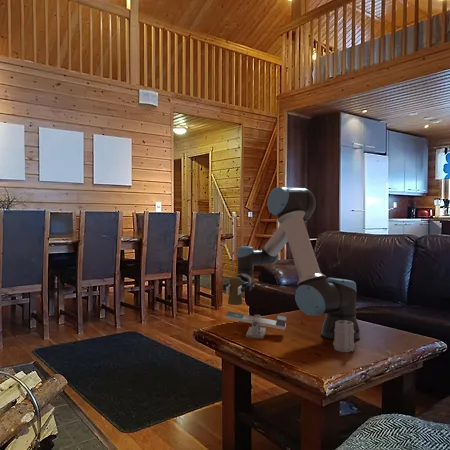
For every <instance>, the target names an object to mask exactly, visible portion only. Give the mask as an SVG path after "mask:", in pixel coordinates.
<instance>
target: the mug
mask: <svg viewBox="0 0 450 450" xmlns="http://www.w3.org/2000/svg"><path fill="white" fill-rule="evenodd" d="M334 332H335V338H334V339H333V343H332V345H333V349H334V350H335V351H337V352H341V353H351V352H350V351H352V352H354V351H353V350H355V347H356V344H355V342H354V341H355V340H354V329H353V323H352V322H351V321H346V320H345V321H344V320H338V321H336V322H335V329H334Z"/></svg>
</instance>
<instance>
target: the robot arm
mask: <svg viewBox="0 0 450 450" xmlns="http://www.w3.org/2000/svg"><path fill="white" fill-rule="evenodd" d="M266 202H267V209H268V213H271V214H272V215H273V216H276V219H277V222H278V223H279V224H280V225H279V226H278V228H277V229H276V230H275V231H274V232H273V234H272V235H271V237H270V238H269V239H268V240H267V242H266V243H265V245H264V246H263V247H262V249H254V247H253V246H249V245H248V246H247V245H240V246H238V247H237V252H236V253H237V254H236V256H237V257H236V258H237V274H236V275H235V277H240V278H241V280H242V282H241V285H240V286H239V287H238V295H240V294H241V295H242V293H245V292H247V293H249V292H251V291H252V289H255V282H254V280H255V275H254V266H270V265H273V264H274V265H275V264H276V263H277V262H278V261H279V260H278V259H279V253H280V252H281V251H282V250H283V248H284V247H285V246H286V244H287V243H288V246H289V249H290V251H291V255H292V256H291V257H292V259H293V262H294V264H295V265H294V266H295V269H296V272H297V275H298V278H299V279H298V282H297V283H296V285H297V289H296V290H295V295H294V298H295V300H294V301H295V302H296V306H297V307H298V308H299V310H300V311H301V312H302V313H304V314H305V315H307V316H319V315H323V314H325V318H324V321H323V324H322V325H321V336H322V337H324V338H327V339H329V340H334V338H335V332H334V329H335V322H336V321H338V320H344V321H345V320H346V321H351V322H352V323H353V329H354V341H355V340H356V339H357V340H359V339H360V338H361V331H360V327H359V325H358V321H357V315H356V314H357V293H358V291H357V283H356V282H355V281H354V280H350V279H343V278H336V277H327V276H326V275H325V274H323V273H322V272H321V269H320V266H319V263H318V260H317V257H316V253H315V251H314V248H313V246H312V243H311V239H310V236H309V232H308V230H307V227H306V224H305V223H306V222H307V221H309V220H310V218H311V217H312V215H313V213H314V212H315V209H316V205H317V204H316V198H315V195H314V193H313V192H312V191H311V190H309V189H308V188H305V187H292V186H291V187H290V186H277V187H274V188H273V189H272V190H271V191H270V193H269V195H268V198H267V201H266ZM222 291H223V292H224V291H225V295H229V293H230V283H229V280H228V281H227V280H225V281H224V283H223V284H222Z"/></svg>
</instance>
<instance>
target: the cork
mask: <svg viewBox="0 0 450 450" xmlns="http://www.w3.org/2000/svg"><path fill="white" fill-rule="evenodd" d="M228 282H229V283H230V293H229V294H228V299H227V305H231V306H233V305H234V306H238V305H242V304H243V296H242V293H241V294H240V295H238V287H239V286H240V285H241V282H242V280H241V278H240V277H236V276H232V277H229V280H228Z"/></svg>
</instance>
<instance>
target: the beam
mask: <svg viewBox="0 0 450 450" xmlns="http://www.w3.org/2000/svg"><path fill="white" fill-rule="evenodd" d="M225 317H226V318H225V319H227V320H232V321H237V322H241V323H242V322H243V323H248V324H252V320H258V325H260V326H263V327H266V328H273V329H277V330H283V331H285V330H286V327H287V326H286V325H287V322H286V321H287V317H286V316H282V315H277V316H276V320H274V319H269V318H263V317H260V318H259V317H255V315H248V314H245V313H239V312H235V311H227V312H226V314H225Z"/></svg>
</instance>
